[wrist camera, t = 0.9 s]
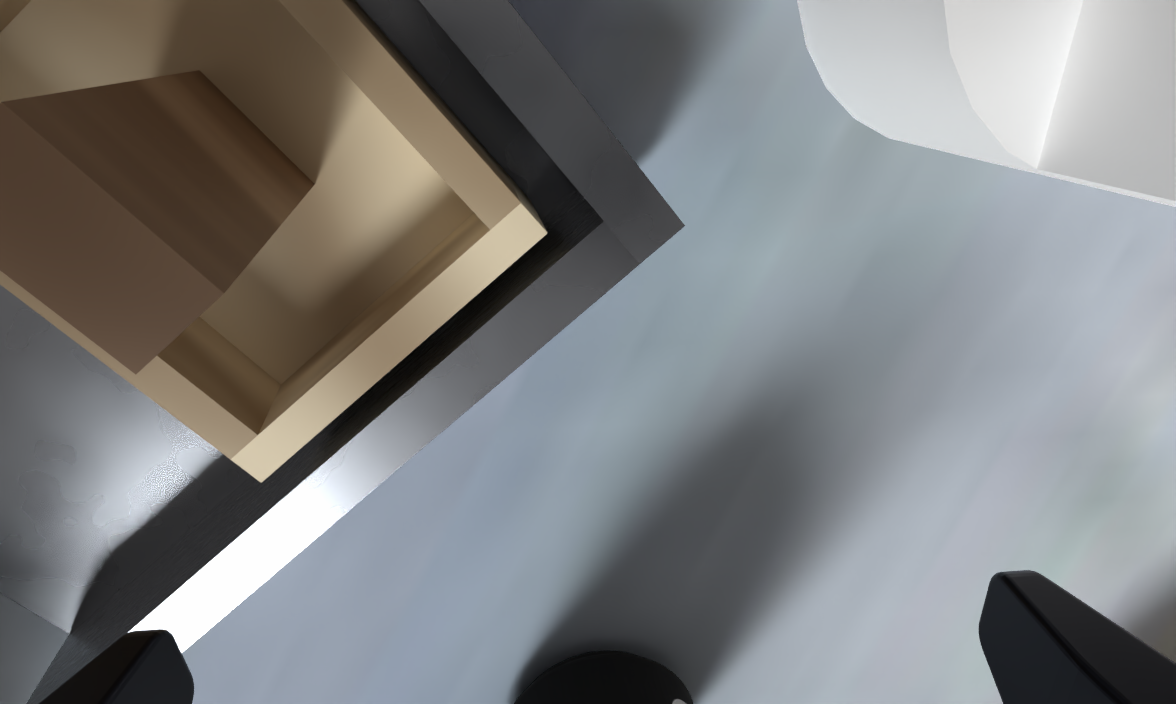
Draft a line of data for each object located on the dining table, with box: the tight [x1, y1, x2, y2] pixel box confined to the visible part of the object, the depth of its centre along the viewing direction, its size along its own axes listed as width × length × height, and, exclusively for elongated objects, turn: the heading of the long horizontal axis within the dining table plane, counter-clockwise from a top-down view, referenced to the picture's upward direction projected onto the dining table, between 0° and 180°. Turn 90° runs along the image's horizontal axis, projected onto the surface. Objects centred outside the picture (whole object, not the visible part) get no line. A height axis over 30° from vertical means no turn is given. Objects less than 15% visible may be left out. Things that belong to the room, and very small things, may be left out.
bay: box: [0, 0, 685, 704], centre depth 16 cm, size 19×14×4 cm
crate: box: [0, 0, 547, 483], centre depth 13 cm, size 8×10×8 cm
